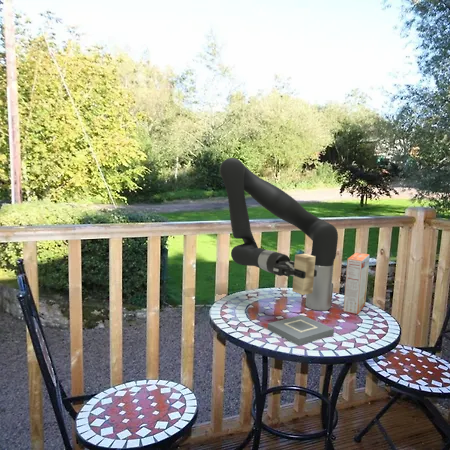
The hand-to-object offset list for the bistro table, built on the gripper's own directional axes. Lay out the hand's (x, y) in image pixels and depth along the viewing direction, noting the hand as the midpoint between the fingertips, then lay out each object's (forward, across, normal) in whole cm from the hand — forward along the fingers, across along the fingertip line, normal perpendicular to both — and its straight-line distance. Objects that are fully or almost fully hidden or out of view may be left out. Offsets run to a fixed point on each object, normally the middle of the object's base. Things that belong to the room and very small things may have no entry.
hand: (310, 274), depth 127 cm
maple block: (-3, 0, +6) cm, 7 cm away
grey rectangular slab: (-2, 0, +20) cm, 20 cm away
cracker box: (-9, +36, +20) cm, 42 cm away
